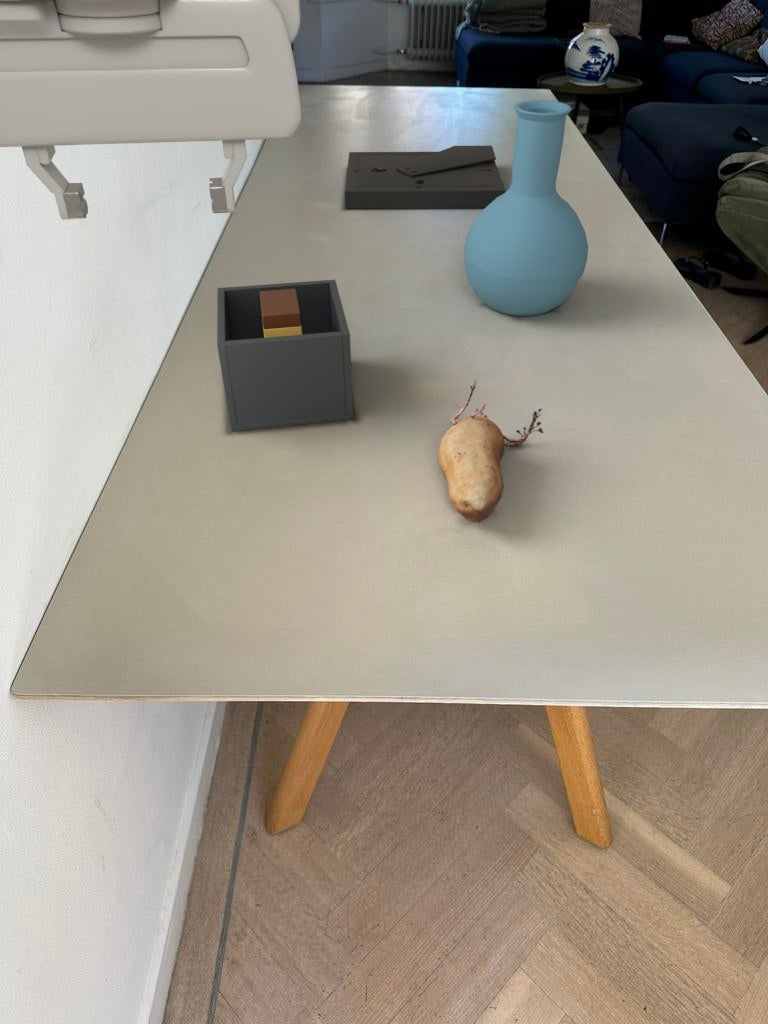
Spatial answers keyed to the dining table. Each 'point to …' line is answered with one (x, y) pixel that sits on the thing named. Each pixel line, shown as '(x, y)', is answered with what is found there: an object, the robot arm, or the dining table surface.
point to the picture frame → (423, 179)
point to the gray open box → (284, 359)
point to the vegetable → (475, 462)
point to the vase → (529, 224)
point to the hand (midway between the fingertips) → (150, 213)
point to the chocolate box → (280, 313)
